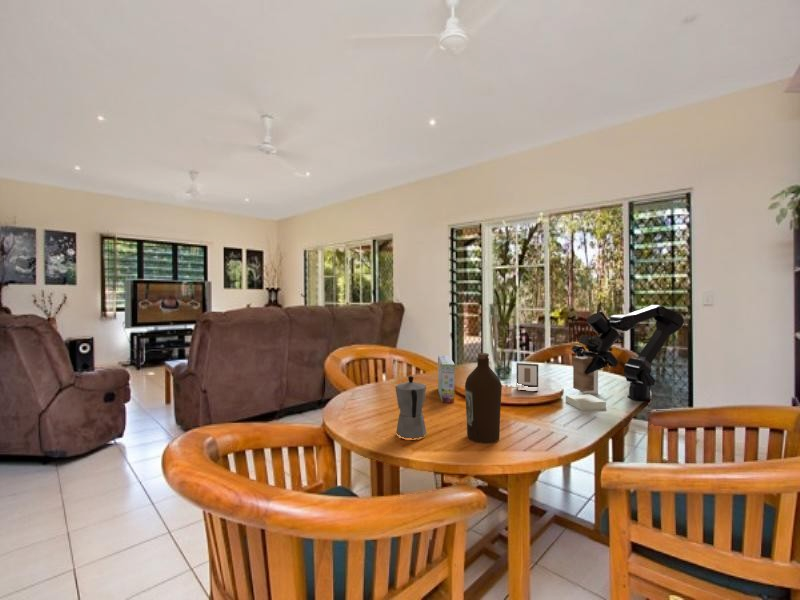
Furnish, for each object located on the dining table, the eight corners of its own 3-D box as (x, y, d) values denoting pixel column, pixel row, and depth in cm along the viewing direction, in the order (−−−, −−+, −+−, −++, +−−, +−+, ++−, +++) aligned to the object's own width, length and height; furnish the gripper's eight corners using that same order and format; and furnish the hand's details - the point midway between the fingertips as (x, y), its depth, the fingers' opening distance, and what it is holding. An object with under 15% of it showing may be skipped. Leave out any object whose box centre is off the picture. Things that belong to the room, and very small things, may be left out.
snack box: (455, 402, 151) (455, 364, 150) (441, 402, 151) (441, 364, 150) (449, 388, 172) (449, 354, 171) (437, 388, 172) (437, 354, 171)
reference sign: (516, 387, 173) (516, 362, 173) (538, 388, 170) (538, 363, 170) (516, 390, 168) (516, 364, 167) (538, 392, 165) (538, 365, 164)
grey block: (590, 390, 167) (591, 362, 167) (598, 393, 162) (598, 364, 162) (579, 390, 167) (580, 362, 166) (586, 393, 162) (586, 365, 161)
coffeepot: (393, 428, 124) (393, 372, 123) (423, 426, 125) (422, 371, 124) (398, 447, 108) (398, 383, 108) (431, 446, 109) (431, 382, 109)
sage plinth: (590, 402, 152) (590, 394, 152) (605, 409, 142) (606, 401, 142) (565, 402, 151) (565, 395, 151) (579, 410, 141) (579, 402, 141)
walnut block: (584, 387, 150) (584, 356, 150) (593, 390, 145) (593, 358, 145) (573, 388, 149) (573, 356, 148) (582, 391, 144) (582, 359, 143)
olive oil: (496, 430, 121) (496, 350, 120) (505, 444, 110) (505, 356, 109) (462, 430, 121) (462, 350, 120) (468, 444, 110) (468, 356, 110)
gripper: (575, 325, 156) (551, 354, 154) (611, 329, 138) (585, 362, 136) (591, 343, 158) (568, 372, 156) (629, 350, 140) (604, 383, 138)
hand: (580, 372), depth 146 cm, fingers closed on walnut block, 5 cm apart
